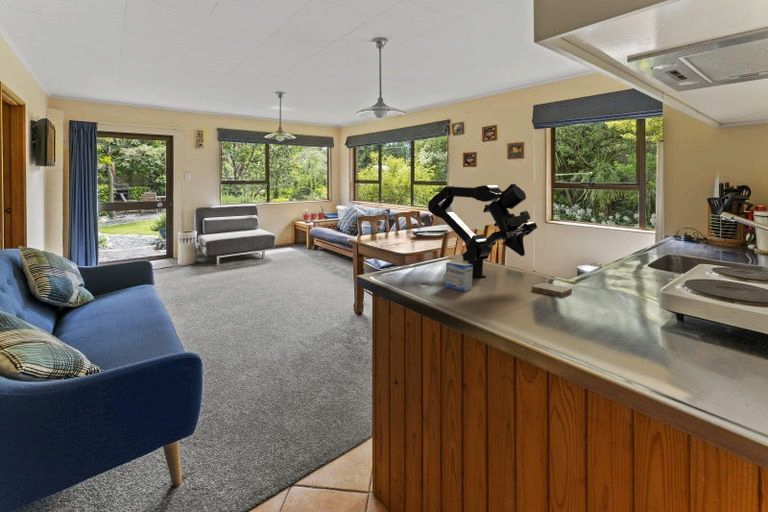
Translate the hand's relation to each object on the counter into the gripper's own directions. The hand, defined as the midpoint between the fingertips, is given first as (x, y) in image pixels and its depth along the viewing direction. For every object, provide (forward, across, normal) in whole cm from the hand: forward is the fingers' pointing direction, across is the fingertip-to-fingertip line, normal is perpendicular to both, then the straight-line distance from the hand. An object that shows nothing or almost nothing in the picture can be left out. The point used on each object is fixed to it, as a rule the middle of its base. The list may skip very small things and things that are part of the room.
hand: (523, 255), depth 138 cm
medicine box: (+2, -22, +10) cm, 25 cm away
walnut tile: (+11, 0, +2) cm, 11 cm away
